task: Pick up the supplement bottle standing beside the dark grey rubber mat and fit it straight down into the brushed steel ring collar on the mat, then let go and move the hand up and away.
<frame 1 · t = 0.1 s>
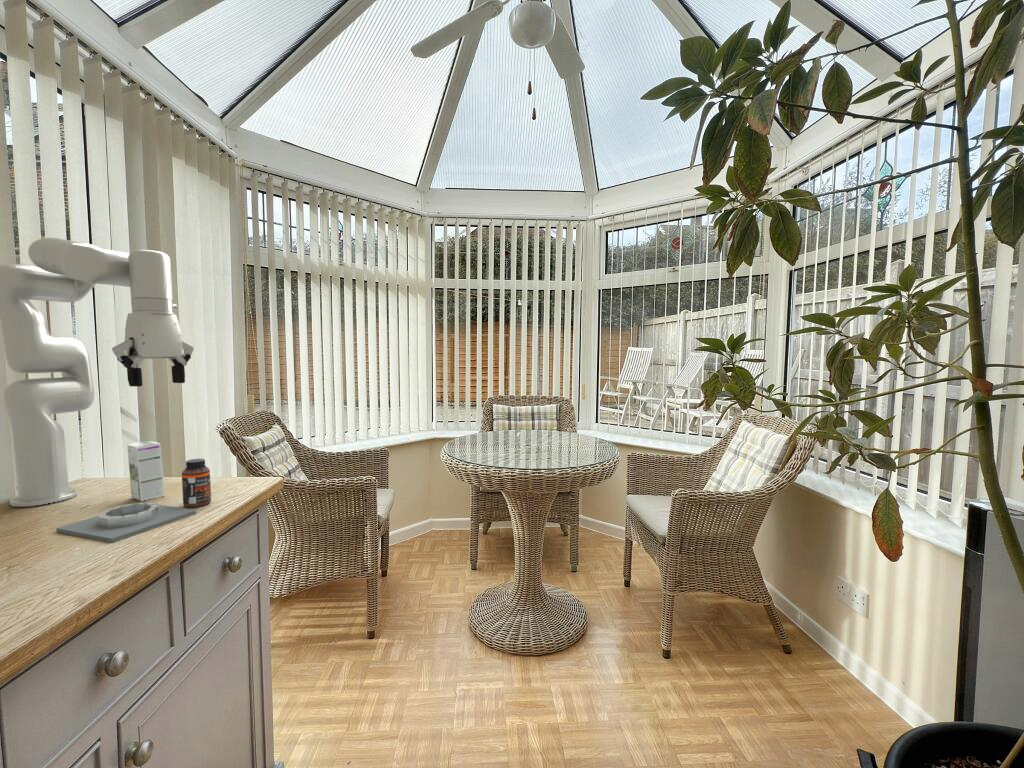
hand: (158, 384, 109), 31 cm above the cabinet, tool pointing down, fingers open, 9 cm apart
syrup box: (148, 498, 128), on the cabinet
supplement bottle: (197, 505, 122), on the cabinet
rubber mat: (129, 522, 110), on the cabinet
ring collar: (129, 514, 110), on the rubber mat, point 1 cm above the cabinet
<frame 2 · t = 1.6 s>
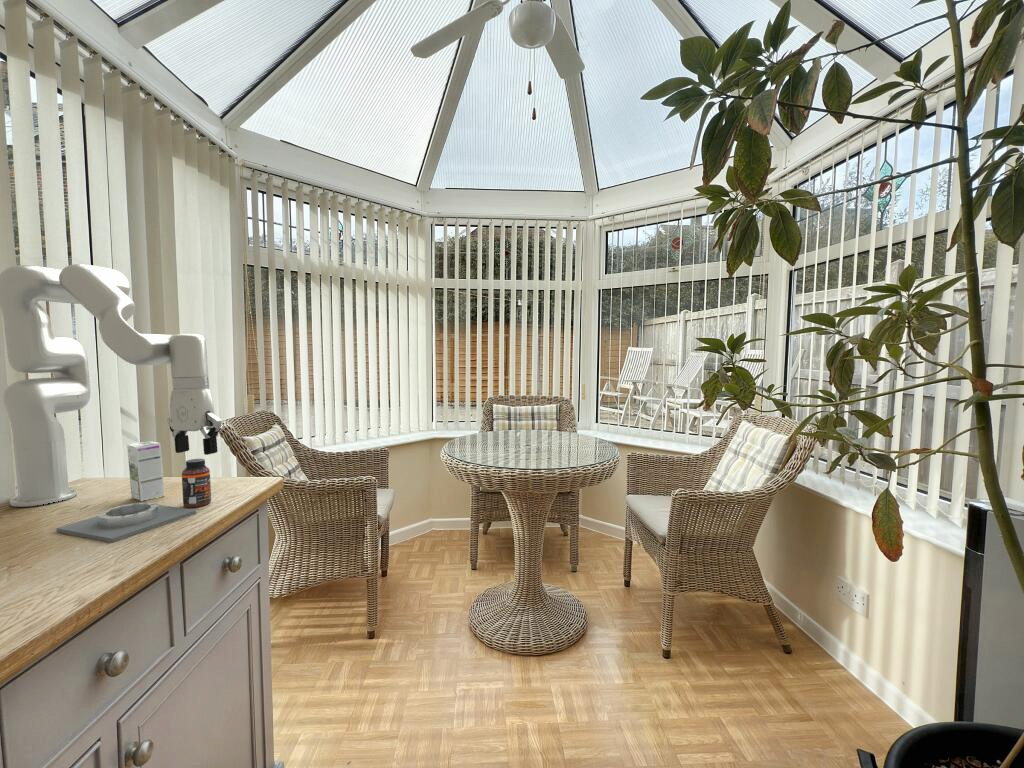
hand: (196, 452, 121), 13 cm above the cabinet, tool pointing down, fingers open, 9 cm apart
nothing on the cabinet moved.
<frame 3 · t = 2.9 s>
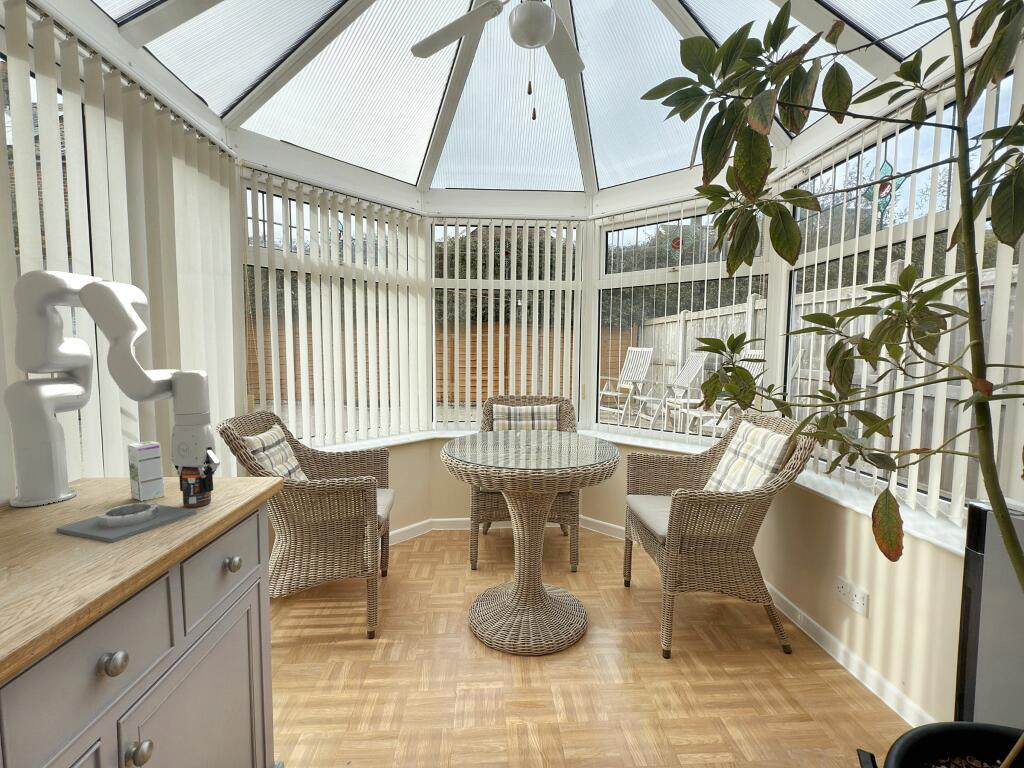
hand: (196, 490, 122), 4 cm above the cabinet, tool pointing down, fingers closed on supplement bottle, 6 cm apart
supplement bottle: (197, 505, 122), on the cabinet, touching gripper
everything else where it was.
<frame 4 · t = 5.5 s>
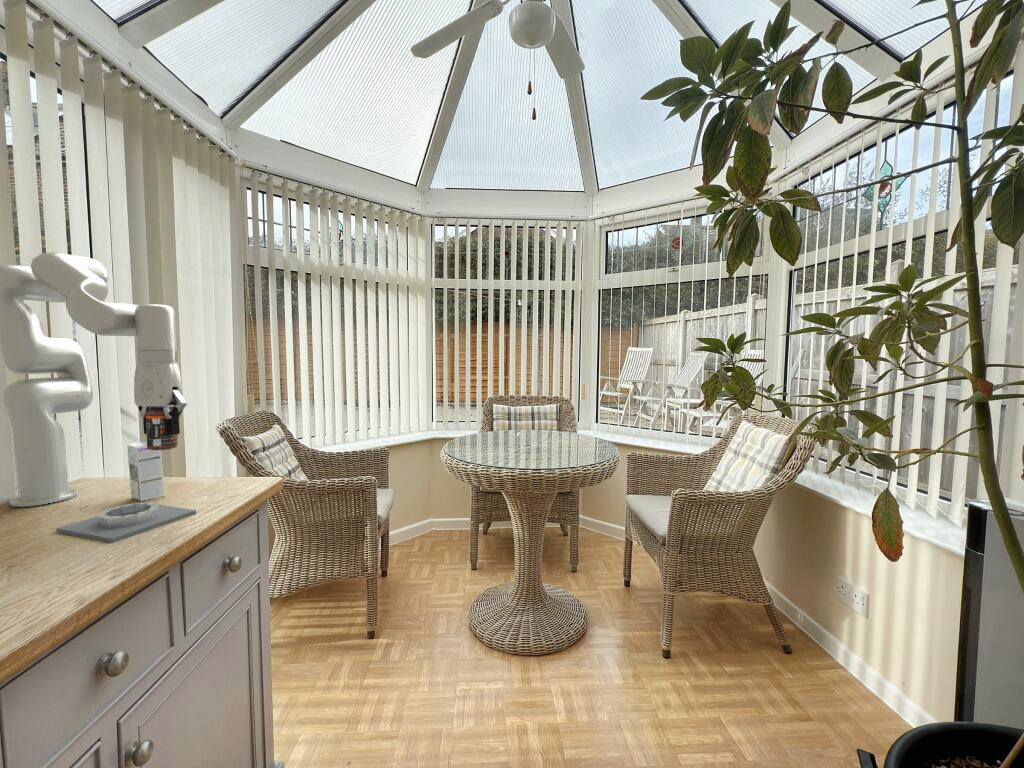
hand: (161, 433, 115), 19 cm above the cabinet, tool pointing down, fingers closed on supplement bottle, 6 cm apart
supplement bottle: (162, 449, 115), point 15 cm above the cabinet, touching gripper
everything else where it was.
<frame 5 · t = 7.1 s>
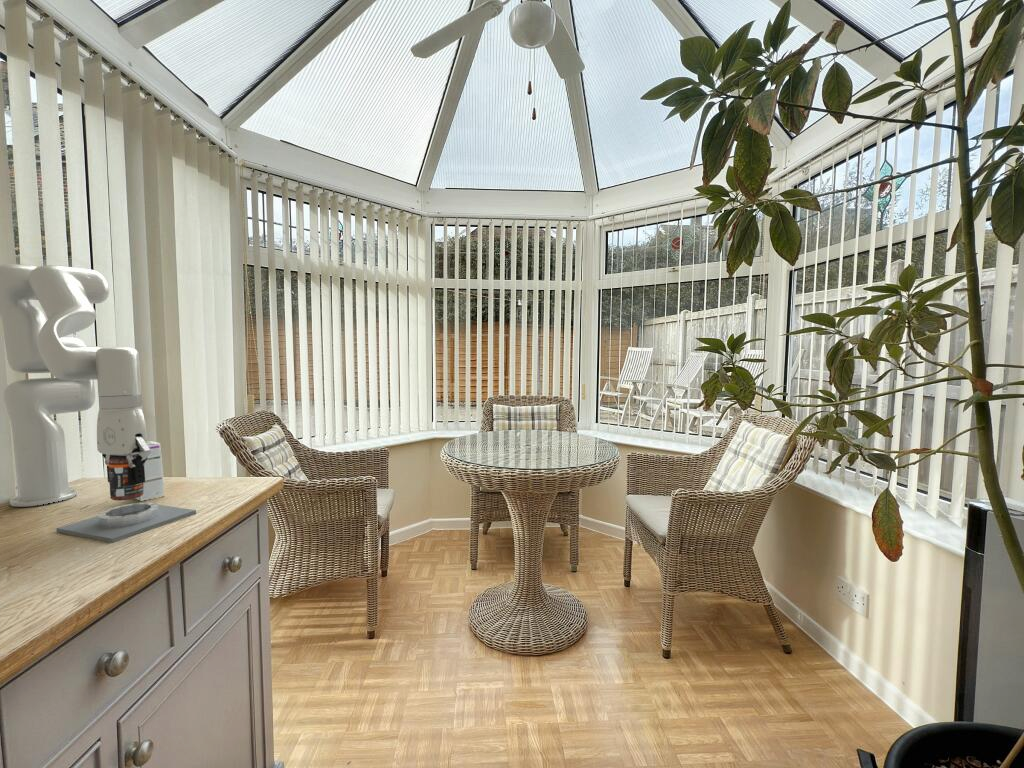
hand: (126, 481, 109), 9 cm above the cabinet, tool pointing down, fingers closed on supplement bottle, 6 cm apart
supplement bottle: (127, 498, 110), point 5 cm above the cabinet, touching gripper
everything else where it was.
when the fingers open (5 cm above the cabinet, at t = 8.4 s): supplement bottle stays where it is, resting on rubber mat.
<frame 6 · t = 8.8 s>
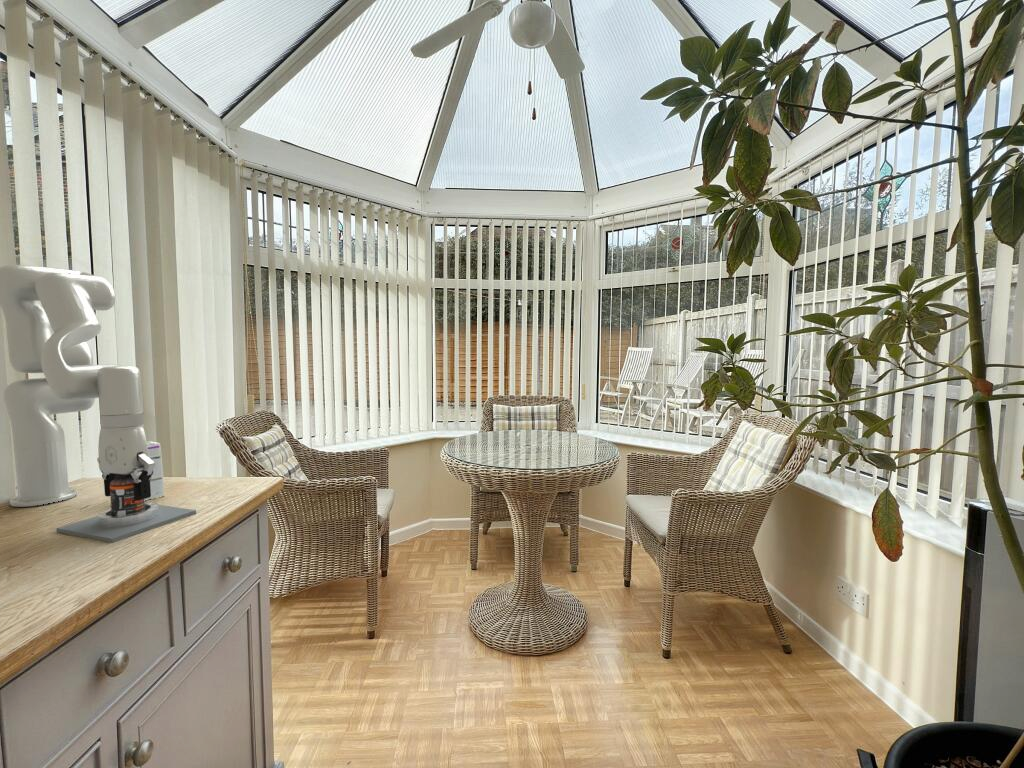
hand: (127, 496, 110), 6 cm above the cabinet, tool pointing down, fingers open, 9 cm apart
supplement bottle: (129, 519, 110), point 1 cm above the cabinet, touching rubber mat
everything else where it was.
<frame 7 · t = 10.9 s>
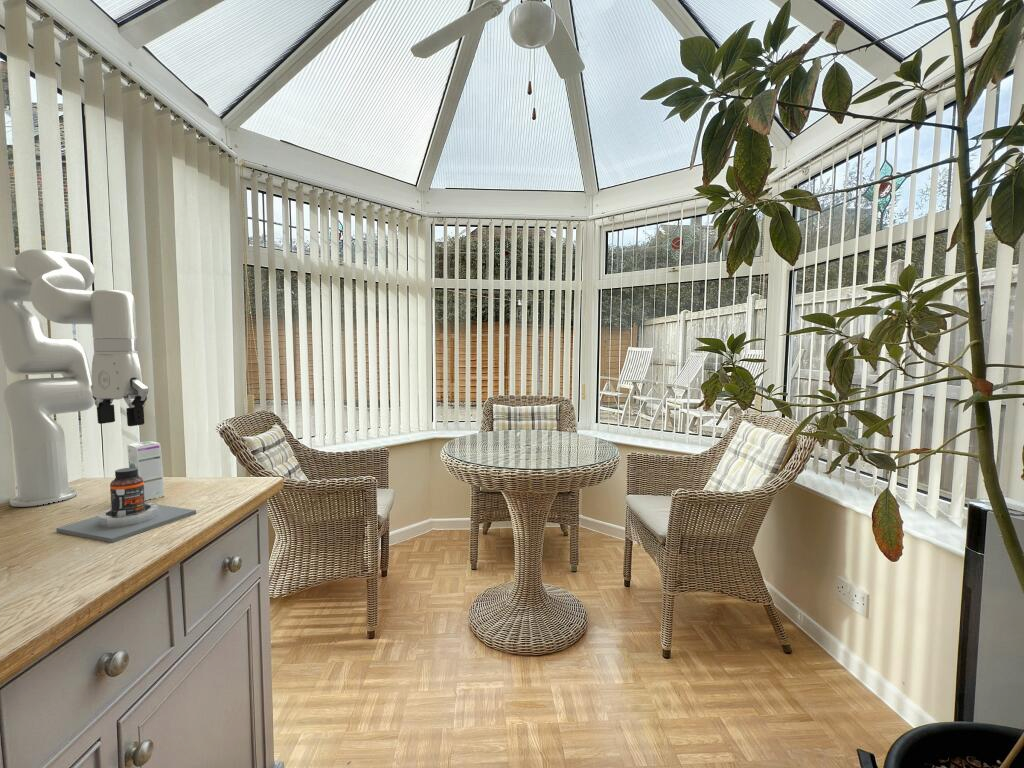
hand: (121, 424, 109), 22 cm above the cabinet, tool pointing down, fingers open, 9 cm apart
nothing on the cabinet moved.
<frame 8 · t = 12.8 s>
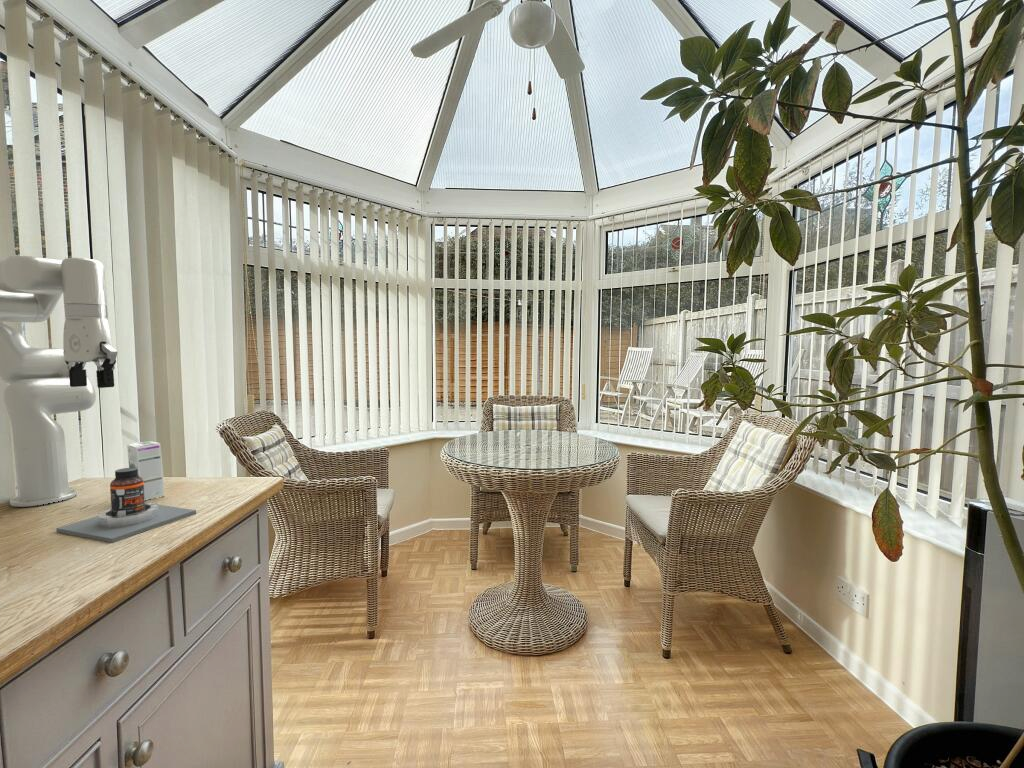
hand: (92, 386, 114), 30 cm above the cabinet, tool pointing down, fingers open, 9 cm apart
nothing on the cabinet moved.
at the end: supplement bottle 0.1 cm off-centre on the ring collar, point 0.6 cm above the ring collar's base; supplement bottle tilted 0°; the gripper is holding nothing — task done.
